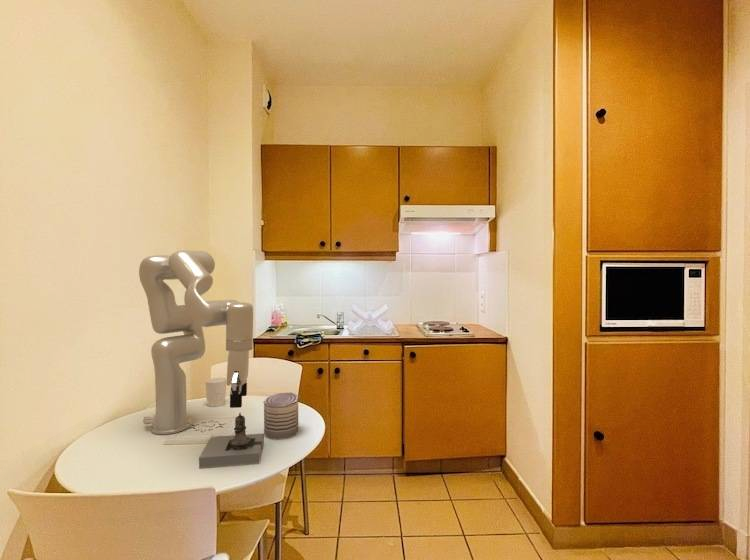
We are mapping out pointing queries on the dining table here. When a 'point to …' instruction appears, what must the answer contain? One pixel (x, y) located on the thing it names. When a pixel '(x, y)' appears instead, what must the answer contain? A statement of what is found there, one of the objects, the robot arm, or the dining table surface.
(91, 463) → the dining table surface
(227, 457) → the plate
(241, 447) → the dark chess piece
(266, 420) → the can
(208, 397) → the white cup
